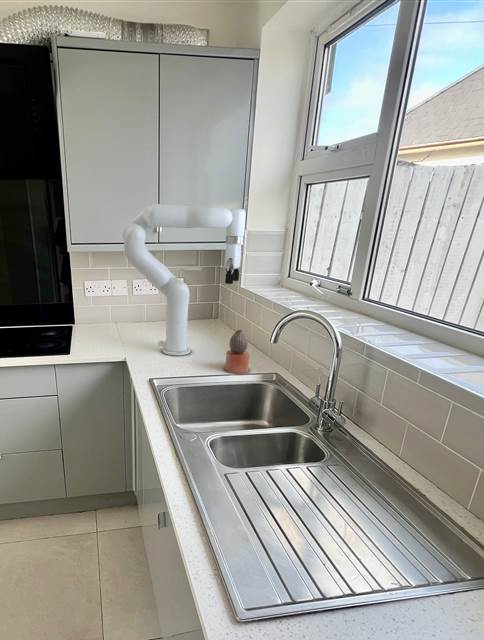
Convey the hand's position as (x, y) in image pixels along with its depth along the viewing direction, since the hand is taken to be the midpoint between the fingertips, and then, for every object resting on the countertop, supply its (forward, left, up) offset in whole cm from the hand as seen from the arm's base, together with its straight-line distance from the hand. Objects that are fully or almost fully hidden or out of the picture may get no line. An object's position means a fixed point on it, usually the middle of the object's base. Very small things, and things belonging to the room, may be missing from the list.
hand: (232, 282), depth 177 cm
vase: (+11, -26, -23) cm, 36 cm away
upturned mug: (+11, -24, -30) cm, 40 cm away
